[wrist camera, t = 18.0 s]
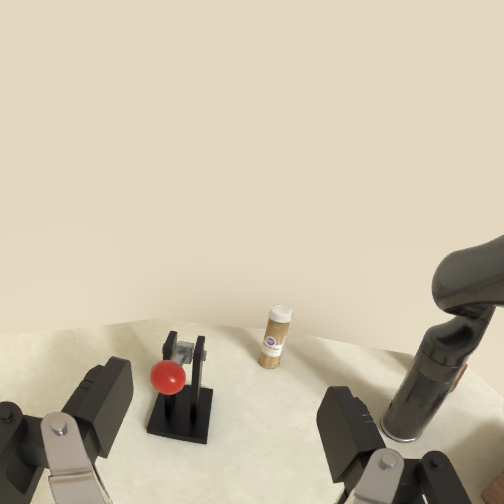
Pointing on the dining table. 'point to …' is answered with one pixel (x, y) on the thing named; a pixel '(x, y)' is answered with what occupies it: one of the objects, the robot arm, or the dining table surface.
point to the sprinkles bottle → (275, 336)
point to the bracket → (183, 401)
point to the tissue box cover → (495, 491)
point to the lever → (172, 370)
